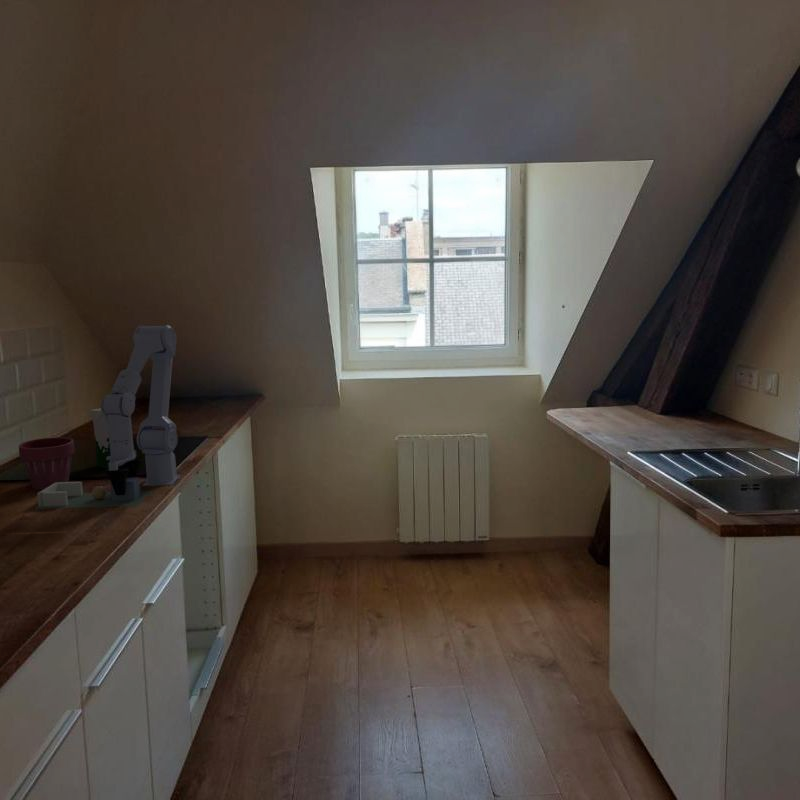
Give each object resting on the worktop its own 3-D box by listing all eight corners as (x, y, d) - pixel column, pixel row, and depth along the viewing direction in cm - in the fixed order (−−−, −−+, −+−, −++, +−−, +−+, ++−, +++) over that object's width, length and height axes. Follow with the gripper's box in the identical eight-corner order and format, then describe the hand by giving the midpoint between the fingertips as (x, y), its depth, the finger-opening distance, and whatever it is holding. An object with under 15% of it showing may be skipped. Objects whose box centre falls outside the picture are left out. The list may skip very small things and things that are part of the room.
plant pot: (80, 488, 211) (75, 443, 209) (24, 496, 205) (19, 450, 203) (75, 477, 224) (71, 434, 222) (22, 484, 217) (17, 440, 215)
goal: (56, 495, 203) (55, 482, 203) (83, 494, 203) (81, 481, 203) (38, 506, 193) (37, 493, 193) (66, 505, 193) (64, 492, 193)
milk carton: (109, 470, 231) (103, 405, 227) (92, 466, 236) (85, 403, 233) (134, 464, 238) (128, 401, 235) (116, 460, 243) (111, 399, 240)
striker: (117, 496, 200) (115, 478, 199) (140, 495, 200) (138, 477, 199) (111, 500, 196) (110, 482, 195) (135, 500, 196) (133, 481, 195)
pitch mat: (56, 495, 204) (56, 494, 204) (153, 492, 204) (152, 491, 204) (33, 510, 191) (33, 508, 191) (136, 507, 191) (136, 505, 191)
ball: (95, 497, 200) (94, 484, 199) (108, 496, 200) (107, 484, 199) (90, 501, 196) (89, 488, 196) (103, 500, 196) (102, 487, 196)
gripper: (115, 434, 203) (120, 483, 205) (94, 446, 189) (99, 499, 191) (142, 433, 203) (146, 482, 205) (122, 445, 189) (127, 498, 191)
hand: (125, 490), depth 198 cm, fingers open, 7 cm apart
